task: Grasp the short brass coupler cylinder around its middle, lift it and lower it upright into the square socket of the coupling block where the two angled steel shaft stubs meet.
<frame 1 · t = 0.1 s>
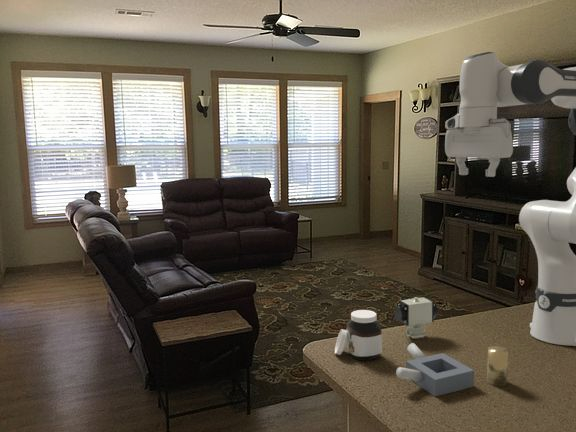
hand: (476, 175, 127), 48 cm above the kitchen counter, fingers open, 8 cm apart
pneumatic valve: (415, 337, 149), on the kitchen counter
spread jar: (356, 355, 137), on the kitchen counter
coupling block: (439, 381, 120), on the kitchen counter
brass coupler: (497, 382, 119), on the kitchen counter
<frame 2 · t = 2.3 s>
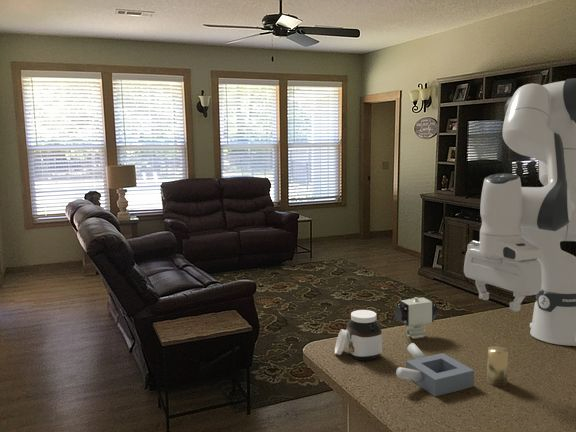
hand: (498, 304, 116), 19 cm above the kitchen counter, fingers open, 8 cm apart
nothing on the kitchen counter moved.
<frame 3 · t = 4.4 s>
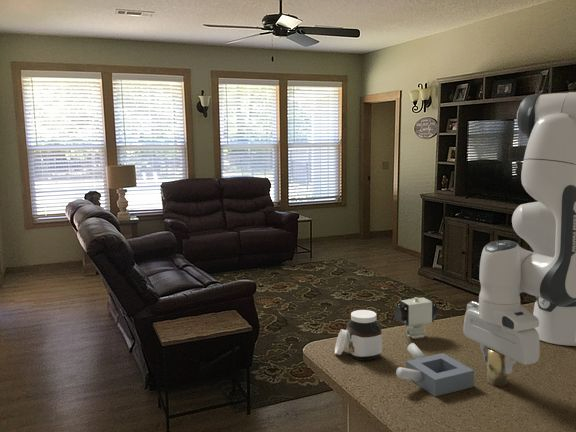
hand: (497, 367, 119), 4 cm above the kitchen counter, fingers closed on brass coupler, 4 cm apart
brass coupler: (497, 382, 119), on the kitchen counter, touching gripper
everything else where it was.
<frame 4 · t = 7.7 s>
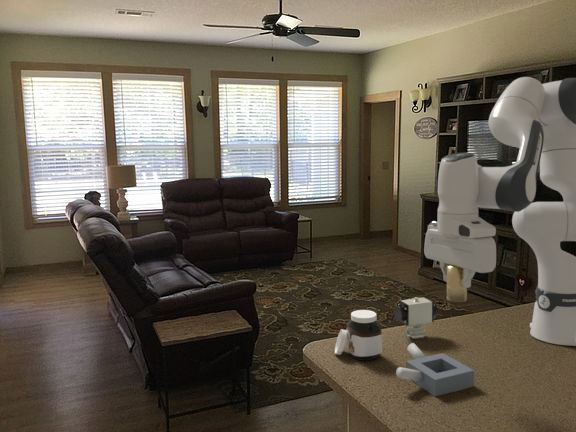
hand: (456, 284, 116), 24 cm above the kitchen counter, fingers closed on brass coupler, 4 cm apart
brass coupler: (456, 299, 117), point 20 cm above the kitchen counter, touching gripper
everything else where it was.
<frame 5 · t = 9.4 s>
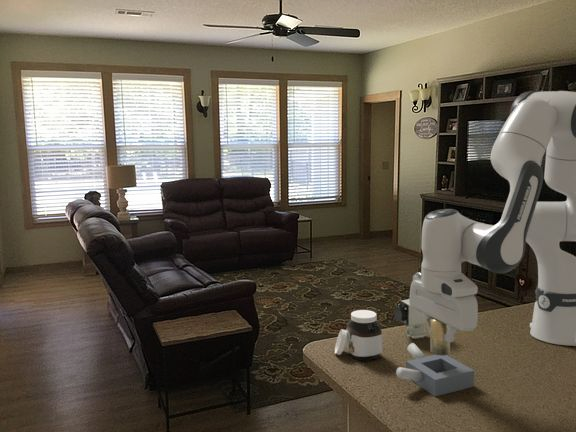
hand: (440, 337, 118), 11 cm above the kitchen counter, fingers closed on brass coupler, 4 cm apart
brass coupler: (440, 351, 119), point 8 cm above the kitchen counter, touching gripper
everything else where it was.
when the fingers open (5 cm above the kitchen counter, at t = 11.1 s): brass coupler drops 1 cm, resting in coupling block.
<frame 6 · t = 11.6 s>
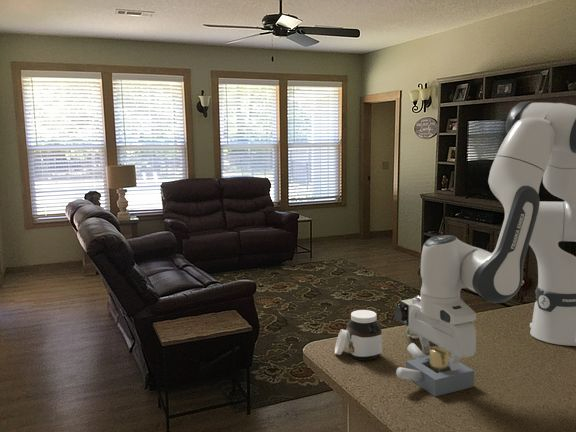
hand: (439, 361, 120), 5 cm above the kitchen counter, fingers open, 8 cm apart
brass coupler: (439, 381, 120), resting in coupling block
everything else where it was.
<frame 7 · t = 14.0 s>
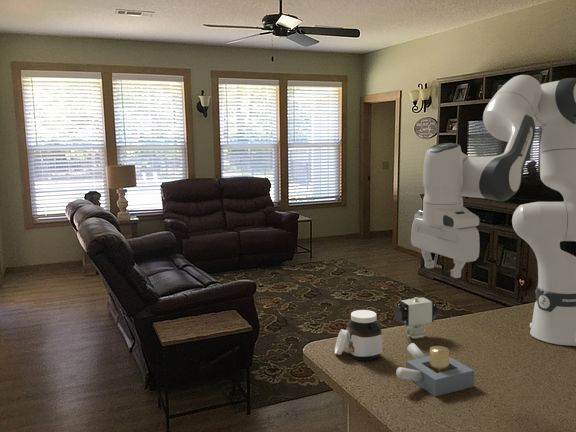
hand: (442, 272, 119), 26 cm above the kitchen counter, fingers open, 8 cm apart
nothing on the kitchen counter moved.
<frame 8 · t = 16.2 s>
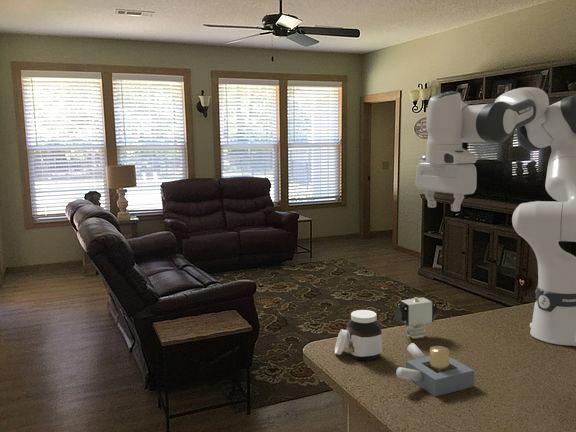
hand: (443, 209, 132), 39 cm above the kitchen counter, fingers open, 8 cm apart
nothing on the kitchen counter moved.
at the end: brass coupler 0.0 cm off-centre on the coupling block, point 0.0 cm above the coupling block's base; brass coupler tilted 0°; the gripper is holding nothing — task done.
